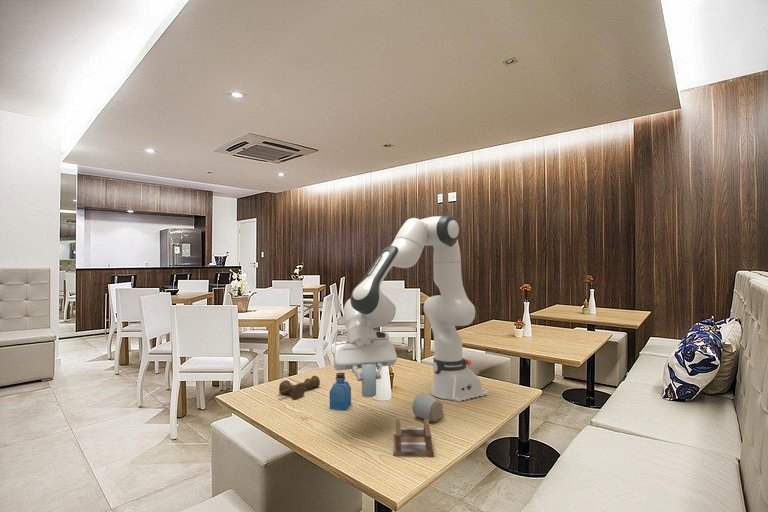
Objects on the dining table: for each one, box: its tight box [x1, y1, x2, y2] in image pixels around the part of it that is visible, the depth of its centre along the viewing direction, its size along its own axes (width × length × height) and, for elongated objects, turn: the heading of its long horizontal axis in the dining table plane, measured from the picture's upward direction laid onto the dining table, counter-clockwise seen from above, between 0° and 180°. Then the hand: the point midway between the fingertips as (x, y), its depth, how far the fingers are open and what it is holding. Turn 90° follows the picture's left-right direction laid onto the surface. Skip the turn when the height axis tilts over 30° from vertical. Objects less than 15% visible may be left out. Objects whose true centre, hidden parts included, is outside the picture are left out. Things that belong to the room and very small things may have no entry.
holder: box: [392, 418, 435, 457], centre depth 109 cm, size 11×11×6 cm
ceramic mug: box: [411, 392, 445, 423], centre depth 130 cm, size 11×8×8 cm
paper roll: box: [361, 363, 377, 398], centre depth 117 cm, size 4×4×9 cm
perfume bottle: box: [329, 372, 352, 411], centre depth 140 cm, size 6×6×12 cm
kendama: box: [278, 375, 321, 400], centre depth 154 cm, size 6×10×20 cm
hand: (369, 379), depth 116 cm, fingers closed on paper roll, 4 cm apart
